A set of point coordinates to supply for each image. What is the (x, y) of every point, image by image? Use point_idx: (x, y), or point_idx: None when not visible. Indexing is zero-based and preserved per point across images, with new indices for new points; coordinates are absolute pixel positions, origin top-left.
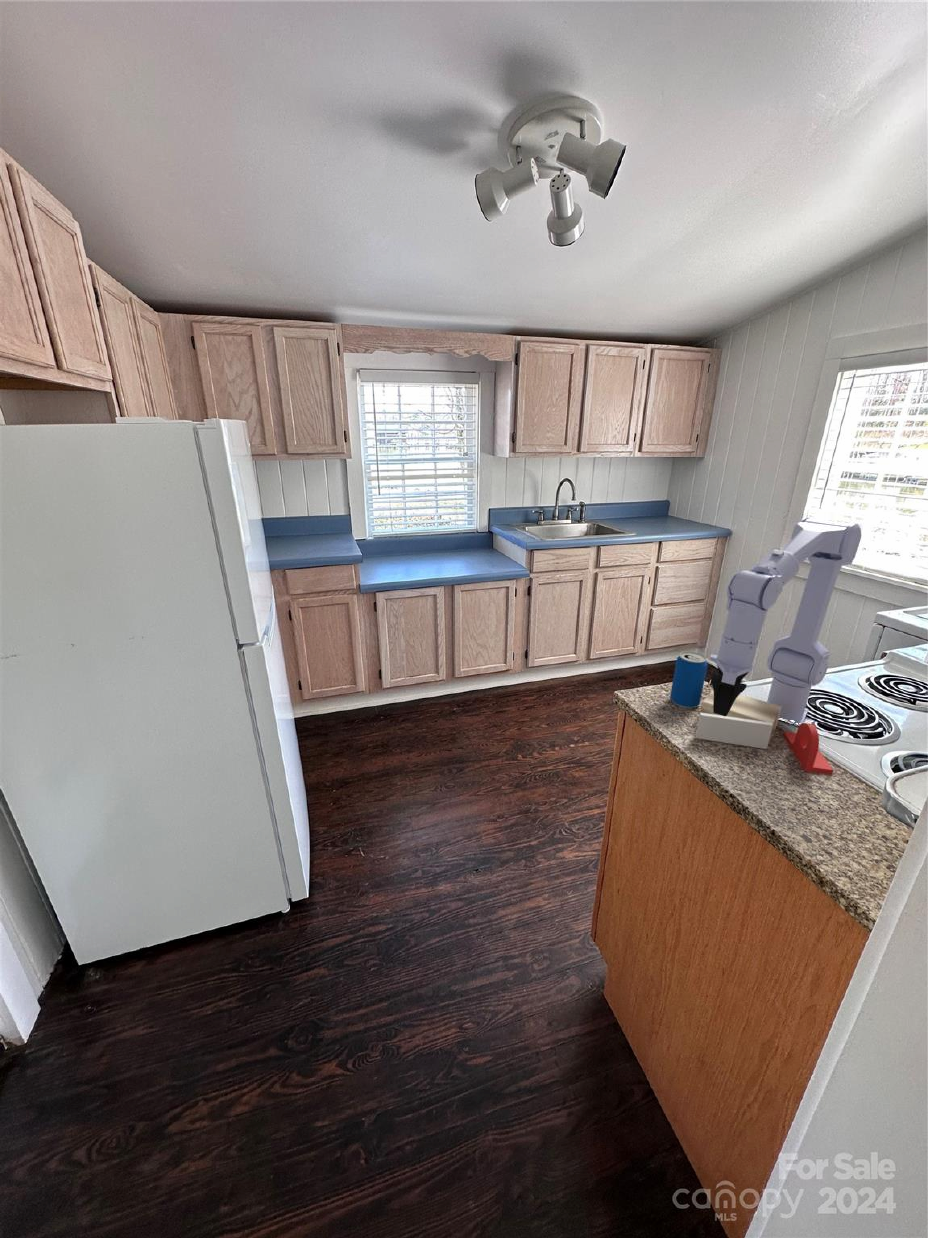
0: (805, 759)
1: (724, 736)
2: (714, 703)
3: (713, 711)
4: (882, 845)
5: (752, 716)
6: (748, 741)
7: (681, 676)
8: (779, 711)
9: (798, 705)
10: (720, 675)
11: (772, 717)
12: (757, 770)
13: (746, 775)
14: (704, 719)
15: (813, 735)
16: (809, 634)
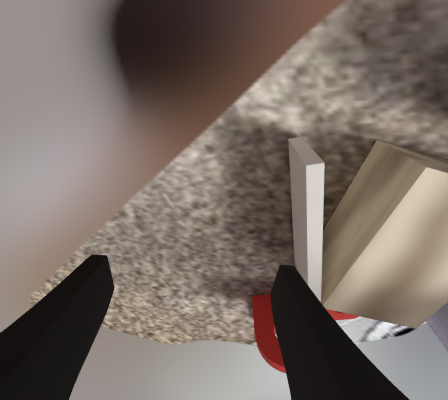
0: (261, 309)
1: (294, 204)
2: (51, 293)
3: (88, 258)
4: (134, 330)
5: (348, 280)
6: (295, 243)
7: None
8: (394, 321)
9: (442, 342)
10: (337, 395)
11: (354, 310)
12: (217, 242)
13: (190, 227)
14: (302, 172)
15: (269, 361)
16: None
